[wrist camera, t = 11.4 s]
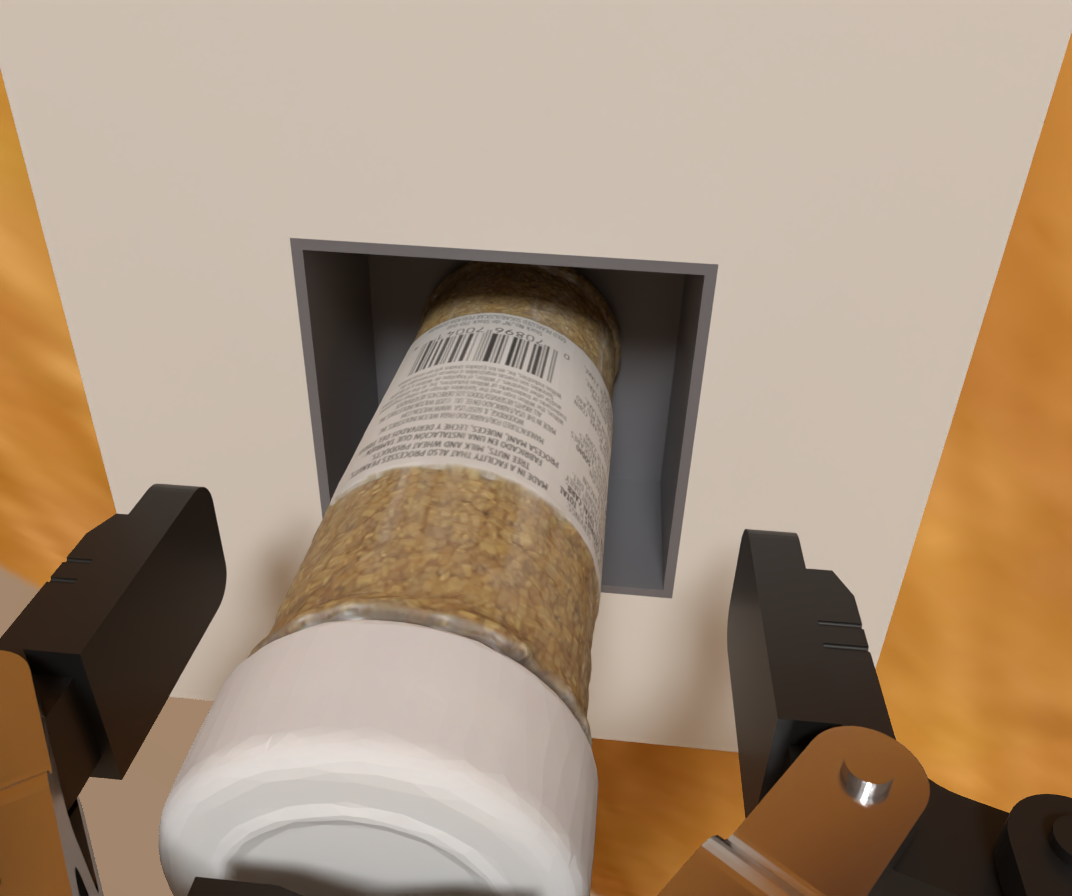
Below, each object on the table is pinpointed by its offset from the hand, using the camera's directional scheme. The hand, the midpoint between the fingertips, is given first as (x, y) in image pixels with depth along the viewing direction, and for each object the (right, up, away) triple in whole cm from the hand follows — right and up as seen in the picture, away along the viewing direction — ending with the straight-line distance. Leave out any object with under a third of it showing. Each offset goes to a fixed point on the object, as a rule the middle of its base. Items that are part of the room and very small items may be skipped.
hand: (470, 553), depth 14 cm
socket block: (+1, +4, +8) cm, 9 cm away
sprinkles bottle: (+1, +4, +7) cm, 8 cm away
